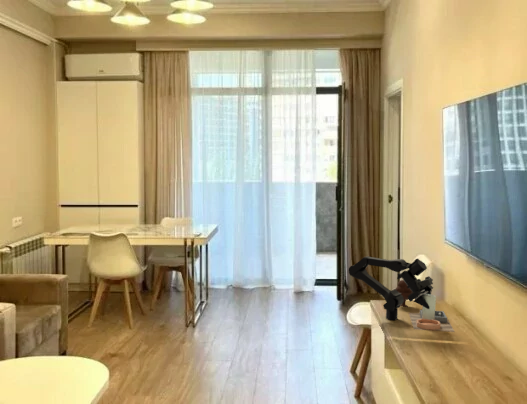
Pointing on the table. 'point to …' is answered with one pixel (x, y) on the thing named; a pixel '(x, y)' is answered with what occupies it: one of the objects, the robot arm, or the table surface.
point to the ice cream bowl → (403, 291)
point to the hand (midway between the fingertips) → (431, 307)
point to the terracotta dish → (428, 324)
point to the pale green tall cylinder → (431, 302)
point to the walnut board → (443, 327)
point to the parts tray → (438, 316)
